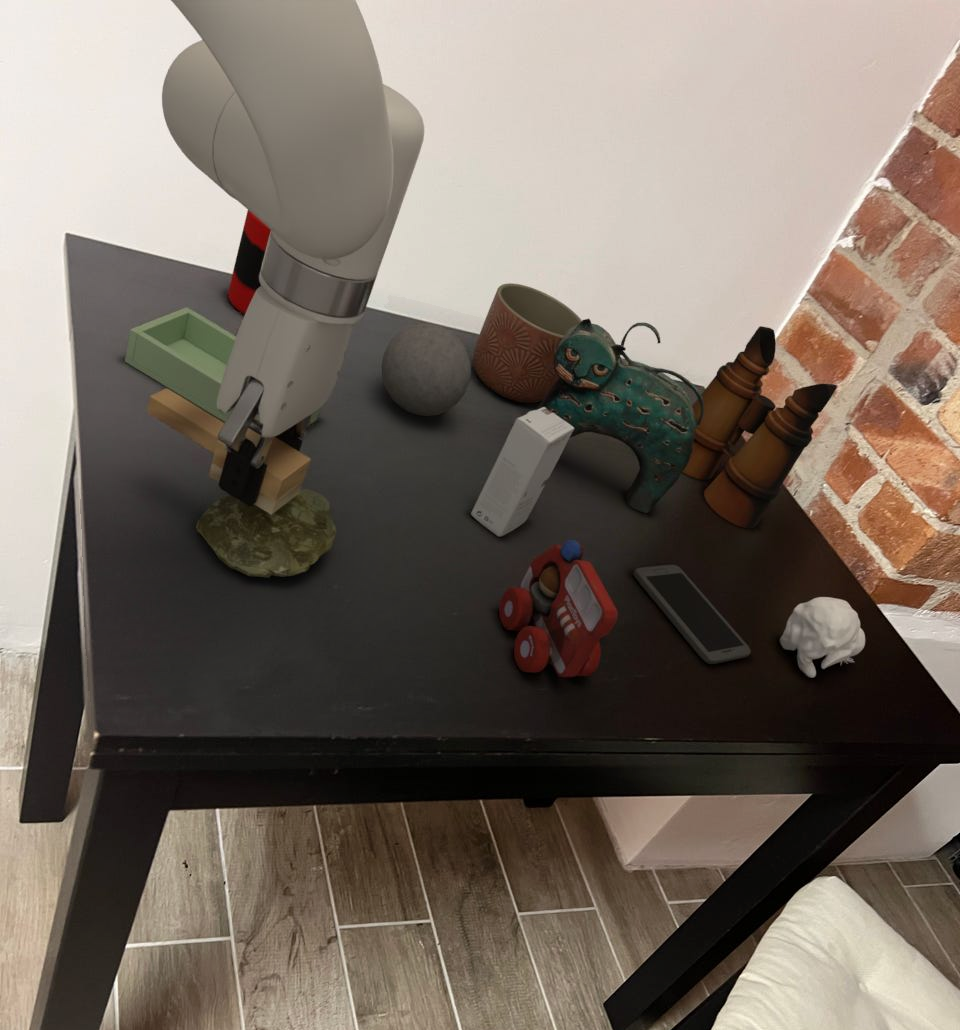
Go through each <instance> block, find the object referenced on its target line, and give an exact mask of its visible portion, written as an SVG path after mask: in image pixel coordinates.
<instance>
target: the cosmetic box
mask: <svg viewBox="0 0 960 1030" xmlns="http://www.w3.org/2000/svg"><path fill="white" fill-rule="evenodd" d="M573 430H574V427H573V426H571V425H570V424H569V423H567V422H566V421H564V420H563V419H561V418H560V417H558V416H557V415H556V414H554V413H553V412H551V411H550V410H548V409H547V408H545V407H542V408H540V409H538V408H537V409H534V410H529V411H528V412H527V413H526V414H524V415H522V416H519V417H517V418H516V419H515V421H514V423H513V425H512V428H511V429H510V431H509V434H508V436H507V438H506V440H505V442H504V443H503V445H502V449H501V450H500V452H499V454H498V456H497V459H496V461H495V462H494V464H493V467H492V469H491V471H490V473H489V475H488V477H487V478H486V481H485V484H484V485H483V486H482V490H481V491H480V493H479V495H478V497H477V500H476V502H475V504H474V506H473V508H472V510H471V512H470V516H472V517H473V518H474V519H475V520H476V521H477V522H478V523H480V524H481V525H482V526H483V527H485V528H486V529H487V530H489V531H490V532H491V533H492V534H494V535H495V536H497V537H499V538H500V537H503V536H505V535H507V534H509V533H511V532H513V531H515V530H516V529H517V528H519V527H520V526H521V525H523V524H524V523H525V522H526V521H527V520H528V518H529V516H530V514H531V512H532V510H533V509H534V507H535V505H536V504H537V502H538V499H539V498H540V496H541V493H542V492H543V489H544V488H545V486H546V484H547V482H548V480H549V479H550V477H551V475H552V473H553V471H554V469H555V467H556V465H557V463H558V462H559V459H560V457H561V455H562V454H563V451H564V450H565V447H566V445H567V443H568V442H569V440H570V439H571V438H570V436H571V434H572V432H573Z"/></svg>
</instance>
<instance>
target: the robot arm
mask: <svg viewBox="0 0 960 1030" xmlns="http://www.w3.org/2000/svg"><path fill="white" fill-rule="evenodd" d="M170 1H171V3H173V5H174V6H175V7H176V8H177V9H178V10H179V12H180V13H181V14H182V16H183V17H184V18H185V19H186V21H187V22H189V24H190V26H192V28H193V29H194V30H195V31H196V34H198V36H199V37H200V38H201V40H199V41H195V42H194V43H192V44H191V45H189V46H187V47H186V48H184V49H183V50H182V51H181V52H180V53H179V54H178V55H177V56H176V57H175V58H174V59H173V61H172V63H171V64H170V66H169V68H168V69H167V72H166V75H165V77H164V80H163V85H162V91H161V107H162V113H163V118H164V121H165V124H166V127H167V129H168V131H169V133H170V136H171V137H172V139H173V141H174V142H175V144H176V145H177V147H178V148H179V150H180V151H181V153H183V155H184V156H185V158H187V159H188V161H190V163H192V164H193V166H195V167H196V168H197V169H198V170H199V171H201V173H203V175H206V177H208V179H210V180H211V181H212V182H213V183H215V184H216V185H217V186H218V187H219V188H220V189H221V190H223V192H225V193H226V194H227V195H228V196H229V197H231V198H232V199H234V200H236V201H237V202H238V203H239V204H240V205H242V206H243V207H244V208H245V209H246V210H247V211H248V210H249V211H250V212H251V213H252V214H254V215H255V216H256V217H257V218H258V219H259V220H260V221H262V222H263V223H264V224H265V225H266V226H267V227H268V228H270V229H271V232H270V236H269V239H268V243H267V247H266V251H265V255H264V259H263V262H262V266H261V270H260V274H259V281H260V284H261V286H260V287H259V288H258V289H257V290H256V292H255V294H254V296H253V298H252V300H251V302H250V304H249V307H248V309H247V311H246V314H244V316H243V318H242V321H241V323H240V326H239V328H238V331H237V334H236V335H235V336H236V339H235V342H234V345H233V348H232V351H231V354H230V357H229V360H228V363H227V367H226V370H225V373H224V376H223V380H222V383H221V386H220V390H219V394H218V398H217V408H218V410H219V411H221V412H224V413H228V412H229V411H231V410H232V412H231V414H230V415H229V417H228V419H227V420H226V422H224V423H225V424H224V425H223V427H222V429H221V430H220V432H219V434H218V440H220V441H221V442H223V443H224V444H226V450H227V455H226V458H225V462H224V466H223V469H222V473H221V477H220V480H219V482H218V487H219V488H220V490H222V491H223V492H225V493H226V494H227V495H231V496H233V497H235V498H236V499H238V500H240V501H241V502H243V503H244V504H246V505H248V506H252V505H253V504H255V503H256V501H257V498H258V495H259V492H260V488H261V485H262V482H263V479H264V475H265V472H266V469H267V466H268V465H266V464H265V463H263V462H264V460H265V457H266V455H267V453H268V450H269V448H270V446H271V443H272V441H273V439H274V437H276V438H278V439H279V440H281V441H283V442H284V443H286V444H287V445H289V446H291V447H292V448H294V449H296V450H297V451H299V452H300V451H301V448H302V445H303V442H304V441H303V438H305V436H306V435H307V434H308V431H309V428H310V425H311V424H310V419H311V414H312V413H313V412H315V411H316V410H318V409H319V408H320V407H321V408H322V407H323V406H324V405H325V404H326V403H327V401H328V400H329V399H330V397H331V395H332V393H333V390H334V388H335V386H336V384H337V380H338V378H339V374H340V372H341V369H342V366H343V363H344V359H345V356H346V354H347V351H348V346H349V342H350V339H351V336H352V333H353V332H352V331H353V328H354V324H356V323H358V322H360V321H361V320H362V319H363V317H364V315H365V312H366V308H367V306H368V303H369V301H370V297H371V294H372V292H373V289H374V286H375V283H376V280H377V277H378V273H379V272H380V271H379V270H380V268H381V265H382V263H383V260H384V257H385V254H386V250H387V248H388V245H389V243H390V239H391V238H392V237H391V236H392V233H393V231H394V228H395V225H396V222H397V220H398V218H399V217H398V216H399V214H400V211H401V209H402V205H403V203H404V199H405V196H406V193H407V191H408V188H409V185H410V182H411V179H412V176H413V174H414V171H415V168H416V165H417V162H418V159H419V155H420V153H421V150H422V148H423V147H422V146H423V142H424V138H425V124H424V119H423V117H422V115H421V112H420V111H419V110H418V108H417V107H416V106H415V105H414V104H413V103H412V102H411V101H410V100H409V99H408V98H407V97H405V96H404V95H403V94H401V93H400V92H398V91H397V90H395V89H394V88H392V87H390V86H389V85H386V84H385V83H384V82H383V76H382V73H381V68H380V64H379V60H378V57H377V54H376V50H375V47H374V44H373V40H372V38H371V35H370V32H369V30H368V26H367V25H366V21H365V19H364V17H363V16H364V15H363V14H362V11H361V9H360V7H359V5H358V2H357V0H170ZM257 414H258V415H259V418H260V420H258V419H257V418H255V416H256V415H257ZM309 424H310V425H309ZM248 428H249V429H251V430H253V431H254V432H256V433H258V434H259V435H261V437H260V440H259V442H258V445H257V447H256V446H255V445H254V443H253V442H252V441H250V440H249V439H247V438H246V436H245V435H246V432H247V430H248Z"/></svg>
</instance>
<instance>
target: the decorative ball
mask: <svg viewBox="0 0 960 1030" xmlns="http://www.w3.org/2000/svg"><path fill="white" fill-rule="evenodd" d="M381 379H382V382H383V384H384V387H385V389H386V392H387V394H388V396H389V397H390V398H391V399H392V401H393V402H394V403H395V404H397V406H399V407H400V408H401V409H403V410H405V411H406V412H408V413H411V414H414V415H417V416H423V417H430V416H436V415H440V414H443V413H445V412H448V411H449V410H451V409H452V408H453V407H455V406H456V405H457V404H458V403H459V402H460V401H461V399H462V398H463V397H464V395H465V393H466V391H467V389H468V386H469V384H470V379H471V362H470V357H469V355H468V352H467V349H466V347H465V345H464V344H463V342H462V340H460V339H459V337H458V336H457V335H456V334H454V332H453V331H451V330H450V329H448V328H445V327H444V326H442V325H439V324H435V323H429V322H421V323H416V324H411V325H410V326H406V327H405V328H403V329H402V330H400V331H398V332H397V333H396V334H395V335H394V337H392V338H391V340H390V341H389V343H388V344H387V346H386V347H385V350H384V352H383V356H382V360H381Z"/></svg>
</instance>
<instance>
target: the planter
mask: <svg viewBox="0 0 960 1030" xmlns="http://www.w3.org/2000/svg"><path fill="white" fill-rule="evenodd" d="M582 320H583V319H581V317H580V316H578V314H577V313H576V312H574V310H572V309H571V308H570V307H568V306H567V305H566V304H565V303H563V302H561V301H560V300H558V299H557V298H555V297H554V296H552V295H549V294H548V293H545V292H544V291H541V290H539V289H536V288H534V287H531V286H527V285H524V284H519V283H509V282H508V283H503V284H501V285H500V286H498V287H497V290H496V292H495V294H494V297H493V299H492V301H491V304H490V306H489V309H488V312H487V313H486V317H485V319H484V322H483V324H482V326H481V329H480V332H479V335H478V337H477V340H476V344H475V347H474V351H473V357H472V364H473V368H474V371H475V374H476V375H477V376H478V378H479V379H480V380H481V382H482V383H483V384H484V385H485V386H487V387H488V388H489V389H490V390H491V391H493V392H495V393H496V394H498V395H499V396H501V397H503V398H506V399H509V400H511V401H515V402H517V403H523V404H534V403H538V402H542V401H543V400H544V398H545V397H546V396H547V394H548V393H549V391H550V390H551V388H552V387H553V385H554V384H555V383H556V381H557V380H558V379H559V377H558V375H557V374H556V372H555V370H554V364H553V362H554V354H555V351H556V349H557V347H558V345H559V343H560V342H561V340H562V338H563V337H564V335H565V334H566V333H567V331H568V330H569V329H570V328H571V327H573V326H574V325H576V324H579V323H580V322H582Z"/></svg>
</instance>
